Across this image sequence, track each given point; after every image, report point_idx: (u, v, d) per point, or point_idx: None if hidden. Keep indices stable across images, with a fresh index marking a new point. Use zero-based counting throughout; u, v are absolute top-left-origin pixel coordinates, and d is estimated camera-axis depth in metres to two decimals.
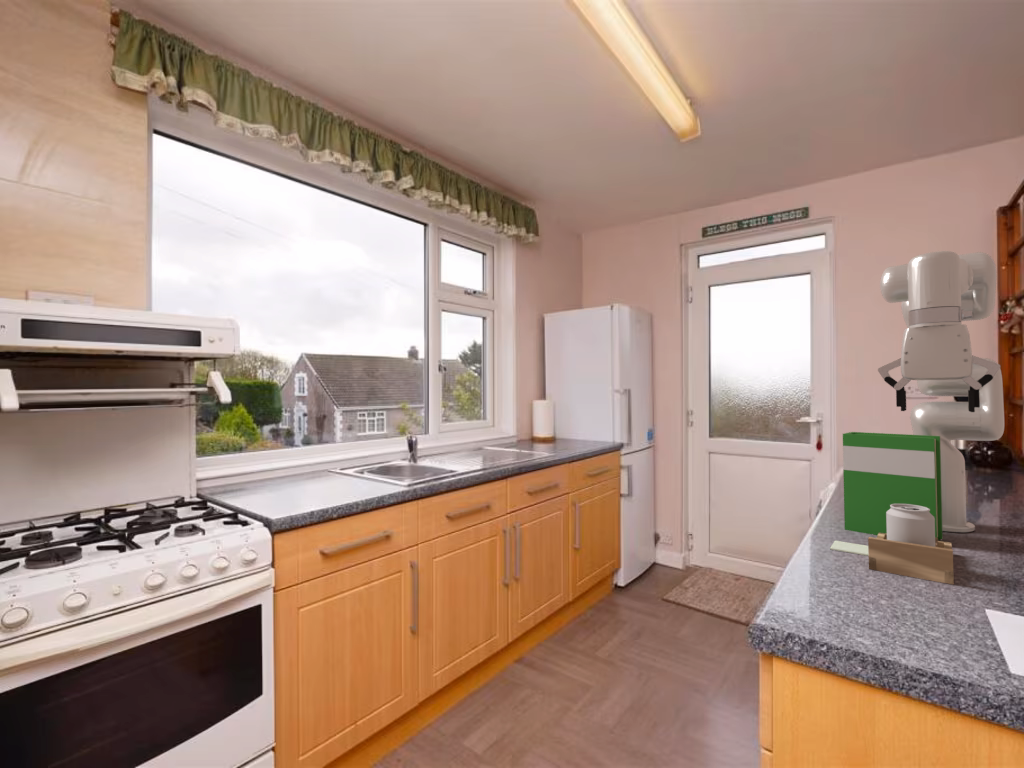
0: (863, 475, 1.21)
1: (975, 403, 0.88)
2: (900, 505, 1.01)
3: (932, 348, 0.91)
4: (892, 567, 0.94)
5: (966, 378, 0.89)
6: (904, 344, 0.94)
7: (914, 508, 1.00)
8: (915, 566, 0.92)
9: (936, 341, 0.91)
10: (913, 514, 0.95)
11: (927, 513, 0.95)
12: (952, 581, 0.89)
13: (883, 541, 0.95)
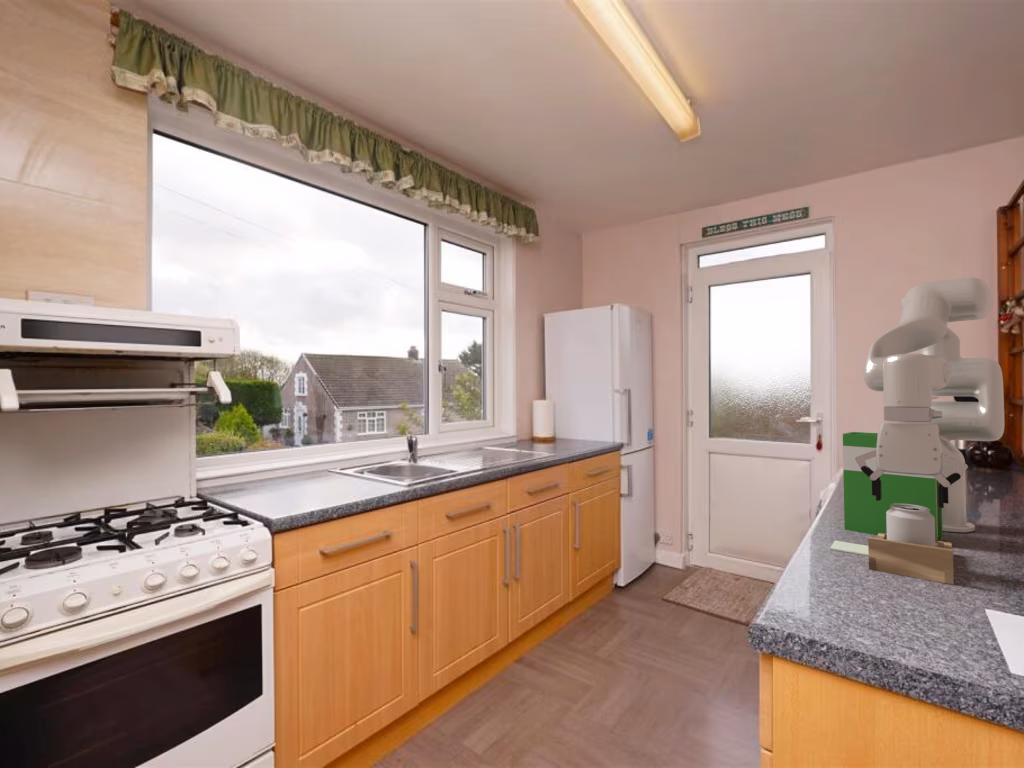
0: (863, 475, 1.21)
1: (944, 499, 0.94)
2: (900, 505, 1.01)
3: (904, 445, 0.96)
4: (892, 567, 0.94)
5: (936, 475, 0.94)
6: (879, 438, 0.99)
7: (914, 508, 1.00)
8: (915, 566, 0.92)
9: (909, 438, 0.96)
10: (913, 514, 0.95)
11: (927, 513, 0.95)
12: (952, 581, 0.89)
13: (883, 541, 0.95)
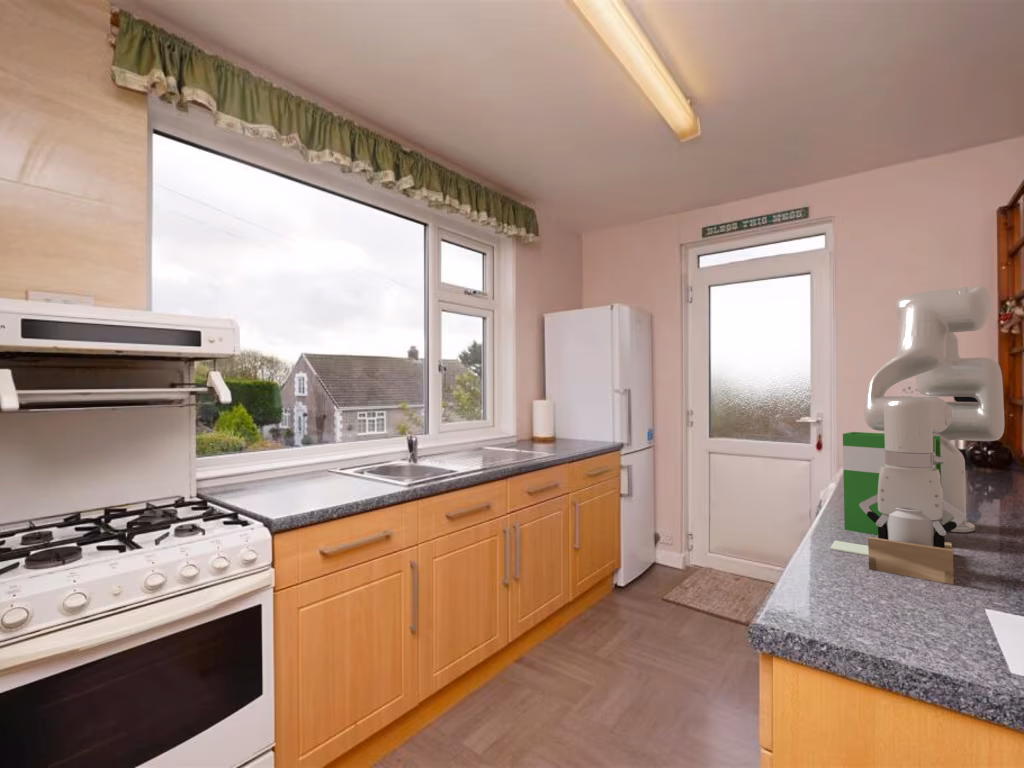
0: (863, 475, 1.21)
1: (941, 547, 0.94)
2: None
3: (906, 490, 0.96)
4: (892, 567, 0.94)
5: (934, 522, 0.94)
6: (880, 481, 0.99)
7: None
8: (915, 566, 0.92)
9: (910, 484, 0.96)
10: (913, 514, 0.95)
11: None
12: (952, 581, 0.89)
13: (883, 541, 0.95)
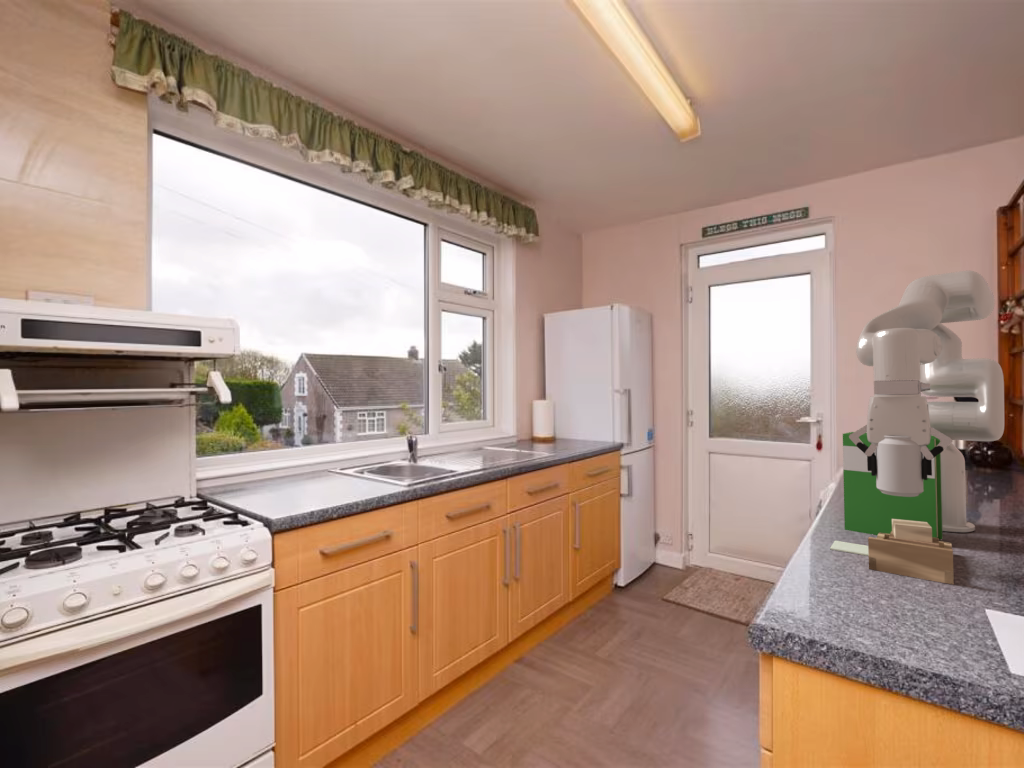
0: (863, 475, 1.21)
1: (928, 472, 0.96)
2: None
3: (894, 418, 0.98)
4: (892, 567, 0.94)
5: (921, 447, 0.97)
6: (869, 411, 1.01)
7: None
8: (915, 566, 0.92)
9: (898, 411, 0.98)
10: (901, 440, 0.97)
11: None
12: (952, 581, 0.89)
13: (883, 541, 0.95)
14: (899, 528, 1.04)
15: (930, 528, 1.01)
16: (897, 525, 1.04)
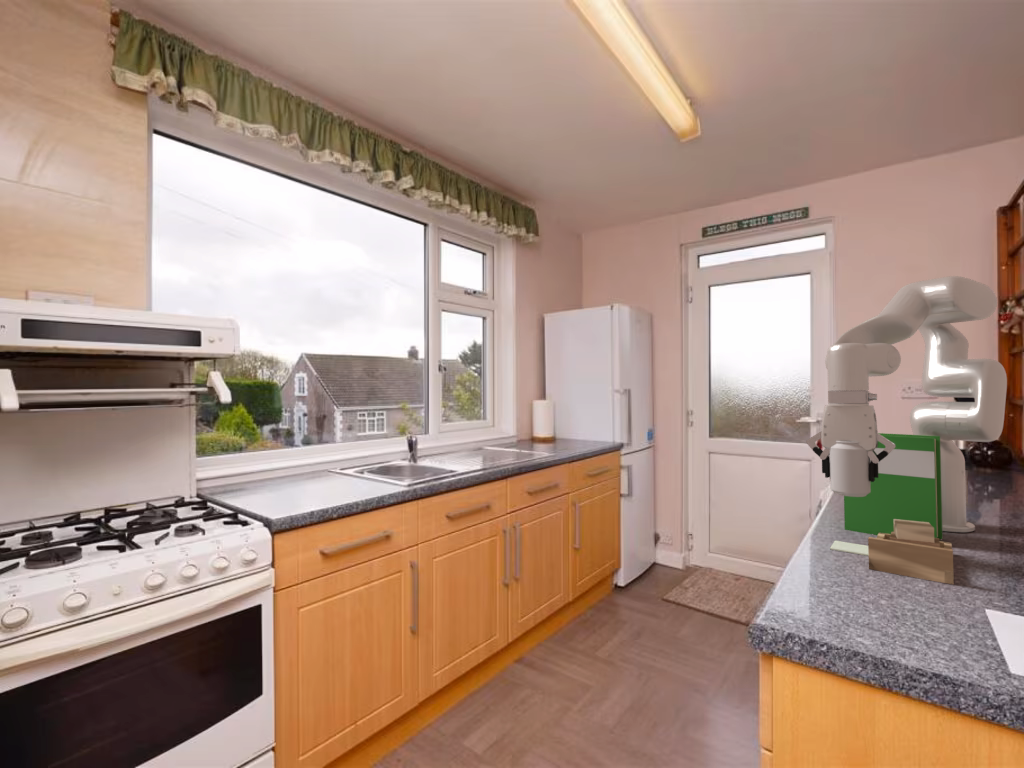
0: None
1: (874, 474, 1.06)
2: None
3: (844, 424, 1.08)
4: (892, 567, 0.94)
5: (868, 452, 1.06)
6: (823, 419, 1.11)
7: None
8: (915, 566, 0.92)
9: (848, 419, 1.08)
10: (850, 445, 1.07)
11: None
12: (952, 581, 0.89)
13: (883, 541, 0.95)
14: (901, 528, 1.04)
15: (932, 528, 1.01)
16: (899, 525, 1.04)
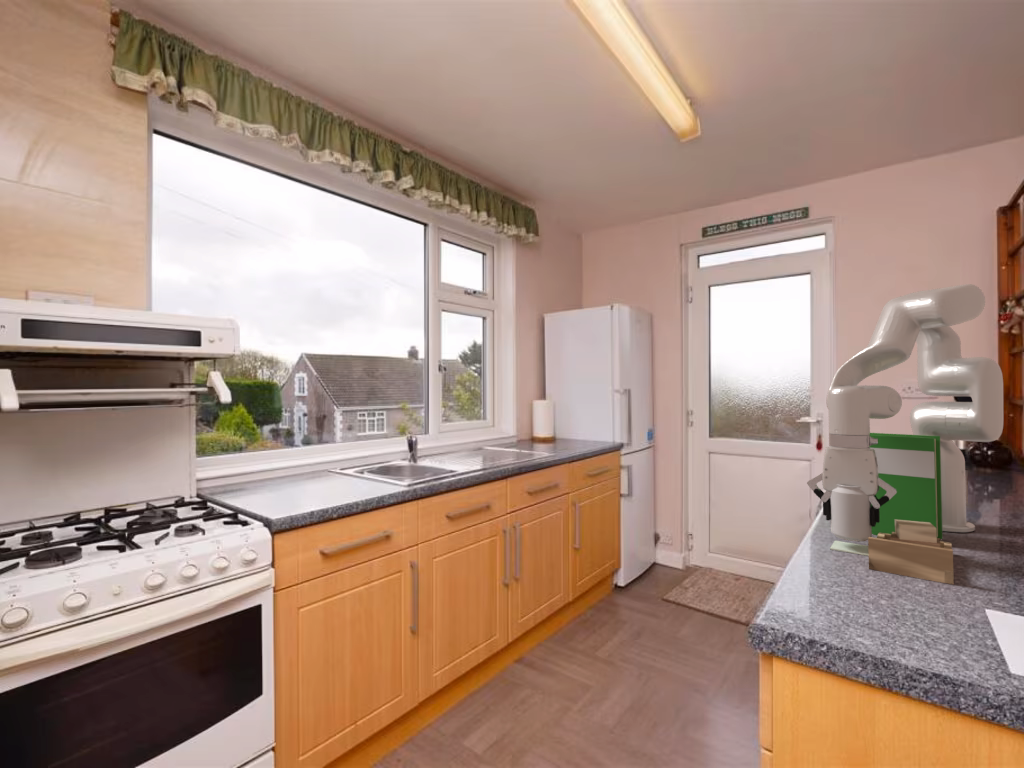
0: None
1: (875, 519, 1.06)
2: None
3: (846, 468, 1.08)
4: (892, 567, 0.94)
5: (869, 497, 1.06)
6: (824, 461, 1.11)
7: None
8: (915, 566, 0.92)
9: (849, 463, 1.08)
10: (851, 489, 1.07)
11: None
12: (952, 581, 0.89)
13: (883, 541, 0.95)
14: (904, 529, 1.03)
15: (934, 528, 1.01)
16: (901, 526, 1.03)
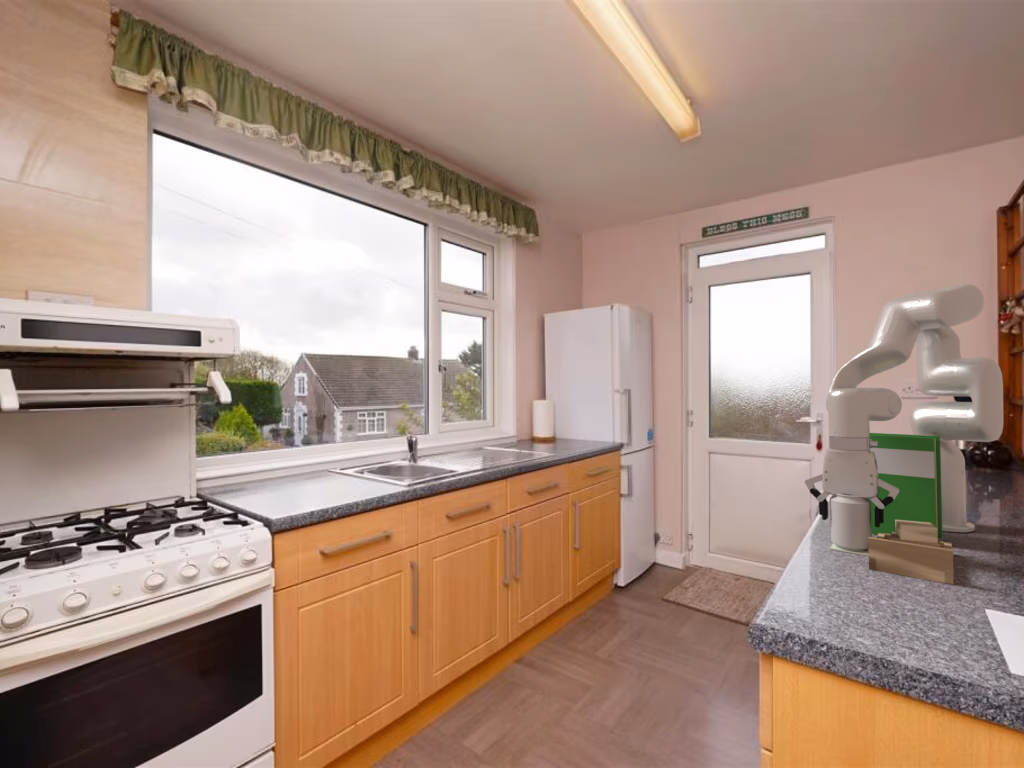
0: None
1: (880, 520, 1.05)
2: None
3: (845, 471, 1.08)
4: (892, 567, 0.94)
5: (872, 498, 1.06)
6: (824, 464, 1.11)
7: None
8: (915, 566, 0.92)
9: (849, 465, 1.07)
10: (851, 499, 1.07)
11: (864, 498, 1.07)
12: (952, 581, 0.89)
13: (883, 541, 0.95)
14: (904, 529, 1.03)
15: (935, 529, 1.01)
16: (902, 526, 1.03)
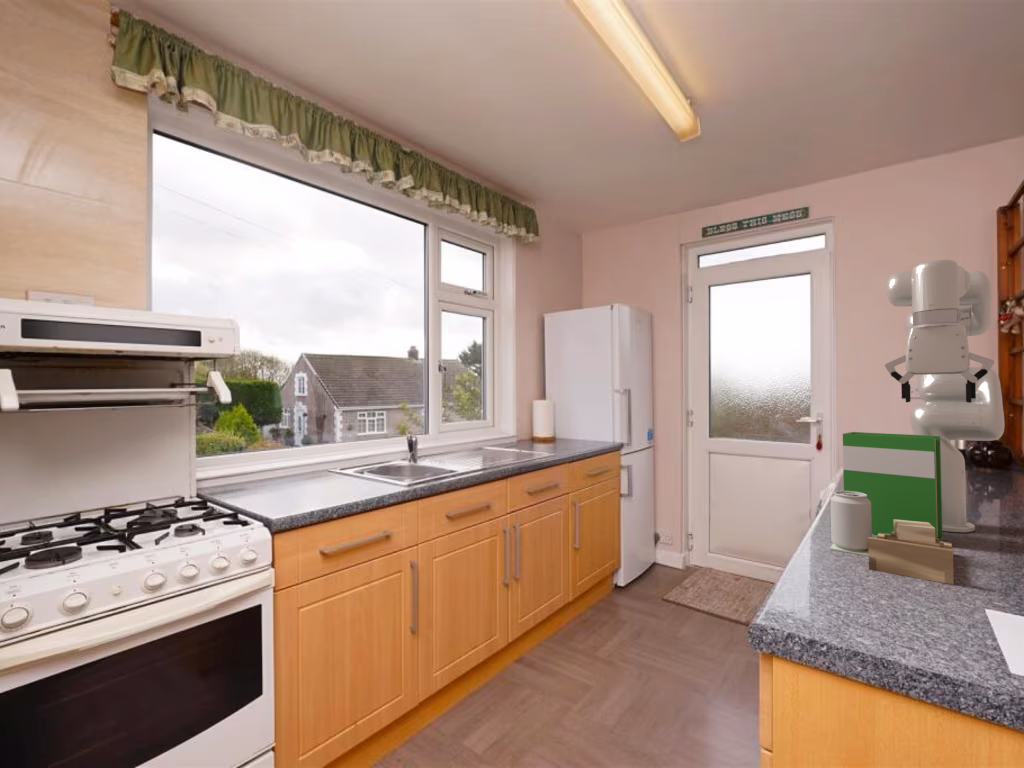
0: (863, 475, 1.21)
1: (972, 394, 0.99)
2: (843, 492, 1.12)
3: (933, 346, 1.02)
4: (892, 567, 0.94)
5: (963, 372, 1.00)
6: (908, 342, 1.05)
7: (855, 494, 1.11)
8: (915, 566, 0.92)
9: (937, 340, 1.02)
10: (852, 499, 1.07)
11: (864, 498, 1.07)
12: (952, 581, 0.89)
13: (883, 541, 0.95)
14: (902, 529, 1.03)
15: (933, 529, 1.01)
16: (900, 526, 1.03)
